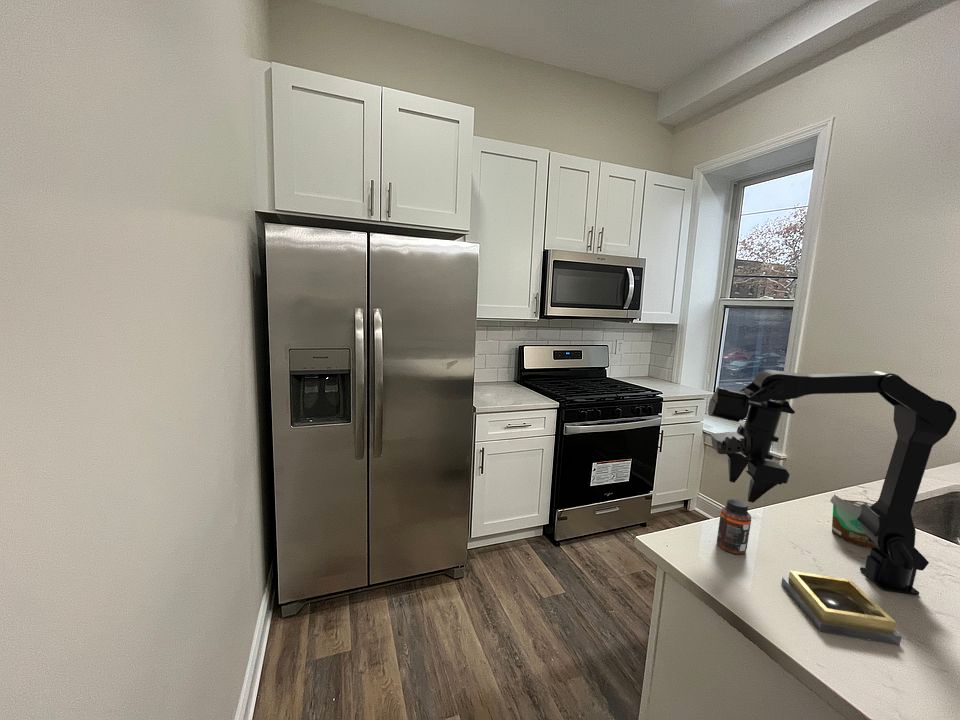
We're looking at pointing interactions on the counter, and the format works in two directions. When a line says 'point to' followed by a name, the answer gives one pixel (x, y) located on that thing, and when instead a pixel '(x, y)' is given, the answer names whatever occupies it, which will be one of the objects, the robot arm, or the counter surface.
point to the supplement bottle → (734, 527)
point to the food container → (849, 521)
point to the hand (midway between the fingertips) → (740, 491)
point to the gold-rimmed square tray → (840, 607)
